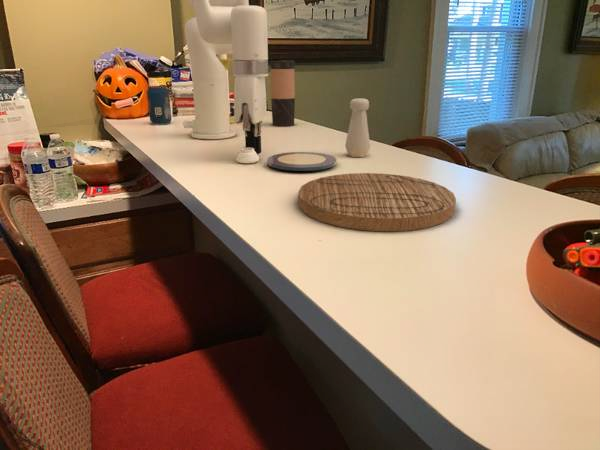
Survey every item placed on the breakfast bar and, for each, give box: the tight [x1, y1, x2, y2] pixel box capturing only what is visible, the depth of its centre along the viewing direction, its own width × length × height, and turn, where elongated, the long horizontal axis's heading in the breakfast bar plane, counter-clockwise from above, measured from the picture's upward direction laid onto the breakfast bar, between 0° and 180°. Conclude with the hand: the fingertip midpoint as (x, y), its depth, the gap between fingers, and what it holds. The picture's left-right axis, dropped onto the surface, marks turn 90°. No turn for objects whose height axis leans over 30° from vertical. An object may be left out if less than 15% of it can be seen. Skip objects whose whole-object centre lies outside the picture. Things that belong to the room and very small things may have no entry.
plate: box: [266, 151, 337, 172], centre depth 102 cm, size 15×15×1 cm
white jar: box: [235, 147, 260, 165], centre depth 104 cm, size 5×3×5 cm
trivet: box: [297, 172, 457, 232], centre depth 76 cm, size 25×25×2 cm
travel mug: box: [270, 59, 296, 127], centre depth 151 cm, size 8×8×20 cm
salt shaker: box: [345, 97, 371, 158], centre depth 109 cm, size 6×6×13 cm
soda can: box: [146, 85, 172, 126], centre depth 156 cm, size 7×7×12 cm
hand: (253, 153), depth 108 cm, fingers closed
